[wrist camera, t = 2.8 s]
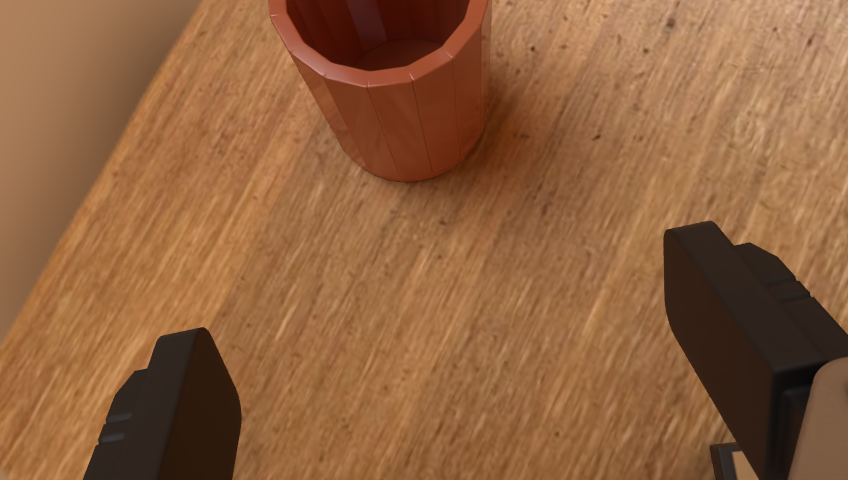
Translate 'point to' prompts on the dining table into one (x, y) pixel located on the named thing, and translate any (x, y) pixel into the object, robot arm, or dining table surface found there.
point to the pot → (394, 77)
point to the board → (731, 463)
